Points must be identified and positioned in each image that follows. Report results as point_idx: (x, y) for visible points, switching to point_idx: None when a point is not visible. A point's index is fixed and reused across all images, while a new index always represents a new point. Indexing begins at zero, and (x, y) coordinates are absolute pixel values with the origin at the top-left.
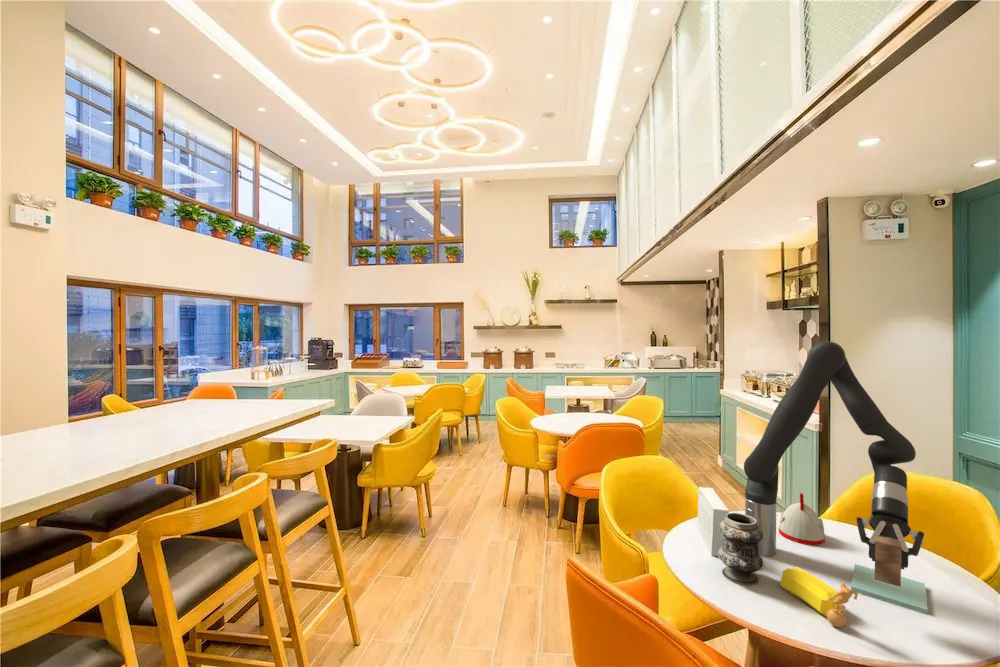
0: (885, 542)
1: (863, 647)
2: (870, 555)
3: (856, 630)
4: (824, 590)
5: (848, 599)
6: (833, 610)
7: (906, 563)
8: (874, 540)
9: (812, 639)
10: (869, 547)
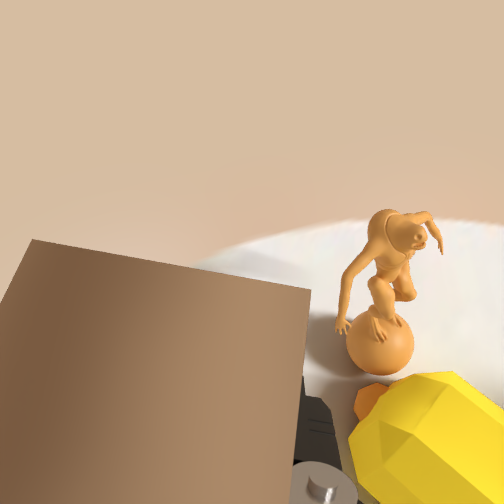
0: (195, 301)
1: (292, 267)
2: (313, 398)
3: (306, 357)
4: (462, 405)
5: (369, 282)
6: (399, 320)
7: None
8: (296, 499)
9: None
10: (334, 451)
